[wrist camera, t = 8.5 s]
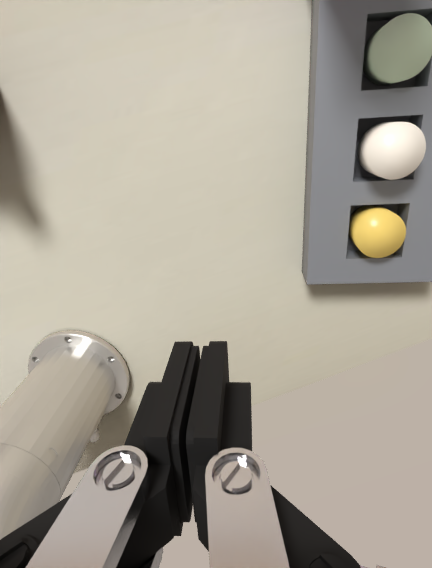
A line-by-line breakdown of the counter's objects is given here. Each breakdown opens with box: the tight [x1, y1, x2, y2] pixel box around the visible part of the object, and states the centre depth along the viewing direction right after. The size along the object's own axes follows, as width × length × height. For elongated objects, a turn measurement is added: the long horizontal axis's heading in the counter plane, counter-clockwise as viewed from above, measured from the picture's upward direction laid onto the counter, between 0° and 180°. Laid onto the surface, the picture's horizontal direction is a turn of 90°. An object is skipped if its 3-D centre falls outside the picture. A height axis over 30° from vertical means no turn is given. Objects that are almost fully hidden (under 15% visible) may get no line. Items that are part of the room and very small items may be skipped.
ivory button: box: [357, 122, 426, 180], centre depth 30 cm, size 4×4×3 cm
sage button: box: [363, 13, 432, 85], centre depth 28 cm, size 4×4×3 cm
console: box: [302, 0, 432, 284], centre depth 32 cm, size 24×12×4 cm, turn 3°
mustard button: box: [348, 204, 406, 258], centre depth 34 cm, size 4×4×3 cm
